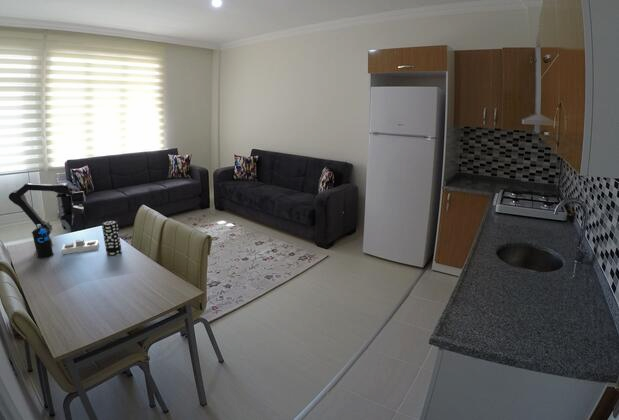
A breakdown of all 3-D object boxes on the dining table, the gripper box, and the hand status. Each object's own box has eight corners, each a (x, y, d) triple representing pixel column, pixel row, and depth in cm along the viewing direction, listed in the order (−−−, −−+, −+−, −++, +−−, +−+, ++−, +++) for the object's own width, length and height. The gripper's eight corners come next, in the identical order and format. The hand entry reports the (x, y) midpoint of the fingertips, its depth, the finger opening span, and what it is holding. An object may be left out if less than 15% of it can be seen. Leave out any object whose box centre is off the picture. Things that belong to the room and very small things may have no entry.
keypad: (62, 254, 220) (61, 249, 219) (64, 248, 228) (63, 244, 227) (97, 249, 228) (97, 244, 227) (98, 244, 236) (98, 239, 235)
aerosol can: (33, 257, 215) (26, 225, 210) (47, 252, 223) (41, 221, 217) (43, 259, 213) (36, 227, 207) (56, 254, 220) (50, 223, 214)
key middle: (76, 246, 225) (75, 242, 224) (77, 244, 228) (76, 239, 227) (83, 245, 226) (83, 241, 225) (84, 243, 230) (83, 239, 229)
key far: (87, 247, 228) (87, 242, 227) (88, 245, 231) (87, 240, 230) (95, 246, 229) (94, 241, 228) (95, 244, 233) (94, 239, 232)
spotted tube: (111, 257, 217) (106, 226, 211) (103, 254, 221) (98, 223, 215) (124, 252, 224) (120, 222, 218) (116, 249, 228) (112, 219, 222)
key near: (65, 250, 223) (64, 246, 222) (66, 248, 226) (65, 243, 225) (73, 249, 224) (72, 245, 223) (73, 247, 228) (73, 242, 227)
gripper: (79, 205, 224) (83, 229, 229) (83, 198, 240) (87, 220, 245) (58, 207, 220) (62, 231, 224) (64, 199, 236) (68, 222, 241)
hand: (71, 226), depth 234 cm, fingers closed
